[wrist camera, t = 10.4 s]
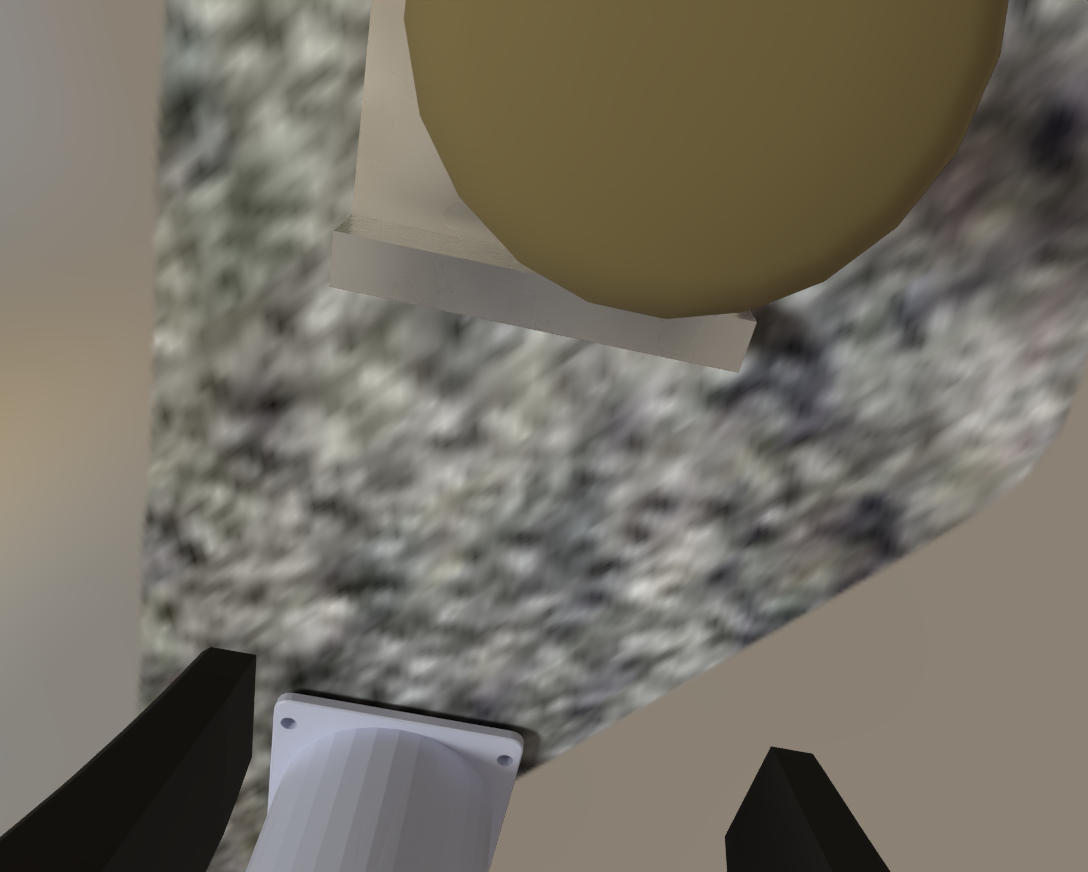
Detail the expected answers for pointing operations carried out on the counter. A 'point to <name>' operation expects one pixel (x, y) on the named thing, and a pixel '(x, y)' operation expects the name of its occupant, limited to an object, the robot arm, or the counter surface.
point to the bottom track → (472, 235)
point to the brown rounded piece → (696, 133)
